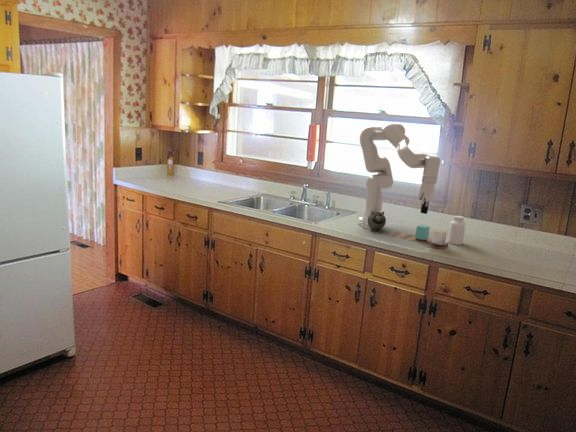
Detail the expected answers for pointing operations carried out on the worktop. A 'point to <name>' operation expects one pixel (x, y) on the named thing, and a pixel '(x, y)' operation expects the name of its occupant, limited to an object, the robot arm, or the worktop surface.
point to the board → (412, 238)
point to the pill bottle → (456, 230)
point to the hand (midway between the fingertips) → (423, 213)
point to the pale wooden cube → (438, 238)
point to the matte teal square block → (422, 232)
